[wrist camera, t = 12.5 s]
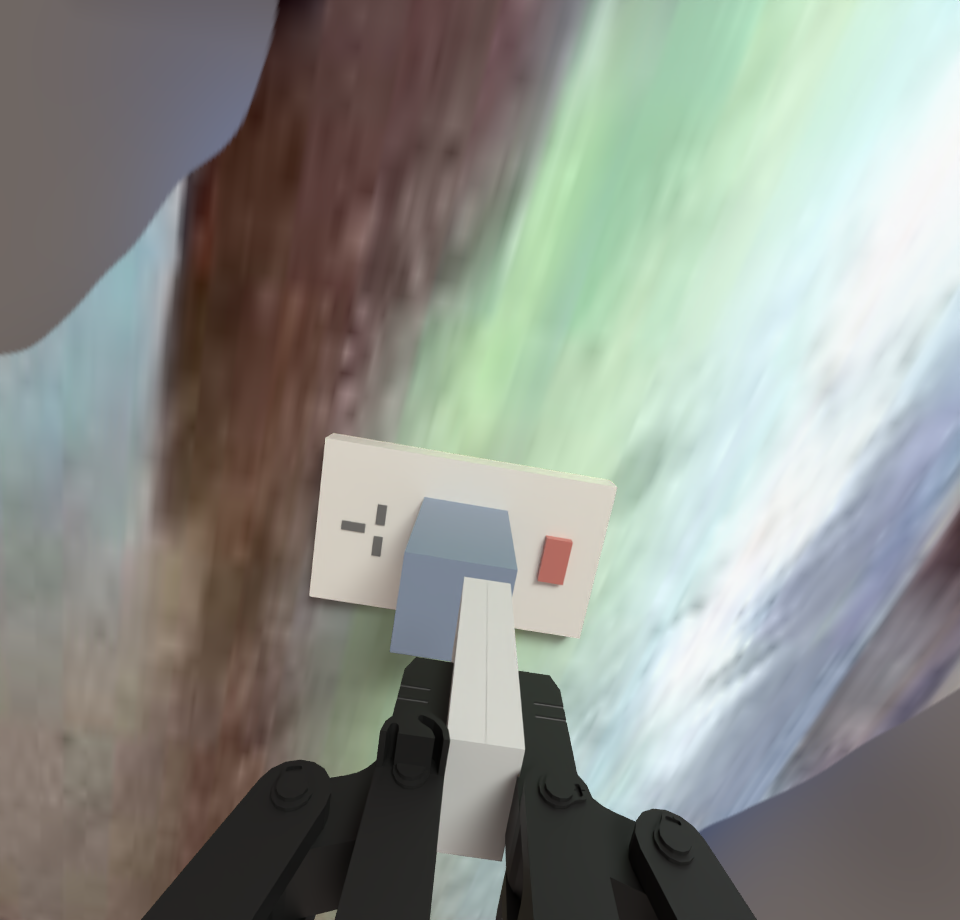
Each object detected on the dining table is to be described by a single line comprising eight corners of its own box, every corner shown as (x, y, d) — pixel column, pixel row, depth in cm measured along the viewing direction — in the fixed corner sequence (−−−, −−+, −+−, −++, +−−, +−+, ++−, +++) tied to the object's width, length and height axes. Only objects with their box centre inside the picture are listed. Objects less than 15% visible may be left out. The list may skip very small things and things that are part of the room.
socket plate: (610, 480, 38) (619, 489, 36) (574, 624, 41) (581, 642, 39) (333, 433, 38) (322, 439, 35) (317, 584, 41) (306, 600, 38)
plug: (506, 502, 39) (517, 570, 27) (492, 574, 40) (497, 668, 29) (427, 489, 39) (404, 551, 27) (415, 562, 40) (389, 651, 28)
